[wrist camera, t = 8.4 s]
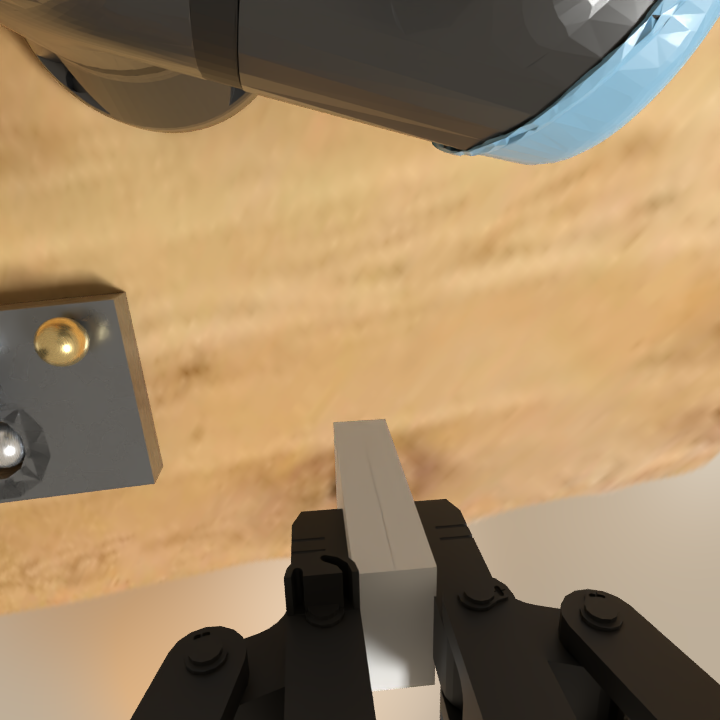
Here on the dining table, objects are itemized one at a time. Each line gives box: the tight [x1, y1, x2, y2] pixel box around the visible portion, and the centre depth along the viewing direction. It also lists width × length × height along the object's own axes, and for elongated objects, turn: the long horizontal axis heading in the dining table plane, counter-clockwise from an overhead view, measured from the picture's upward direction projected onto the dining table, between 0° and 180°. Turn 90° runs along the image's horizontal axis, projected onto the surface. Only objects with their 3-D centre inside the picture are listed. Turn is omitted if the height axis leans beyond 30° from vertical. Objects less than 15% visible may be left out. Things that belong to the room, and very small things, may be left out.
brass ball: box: [33, 317, 90, 367], centre depth 34 cm, size 3×3×3 cm
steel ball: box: [0, 421, 26, 468], centre depth 38 cm, size 3×3×3 cm
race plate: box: [0, 292, 163, 503], centre depth 38 cm, size 13×14×2 cm
